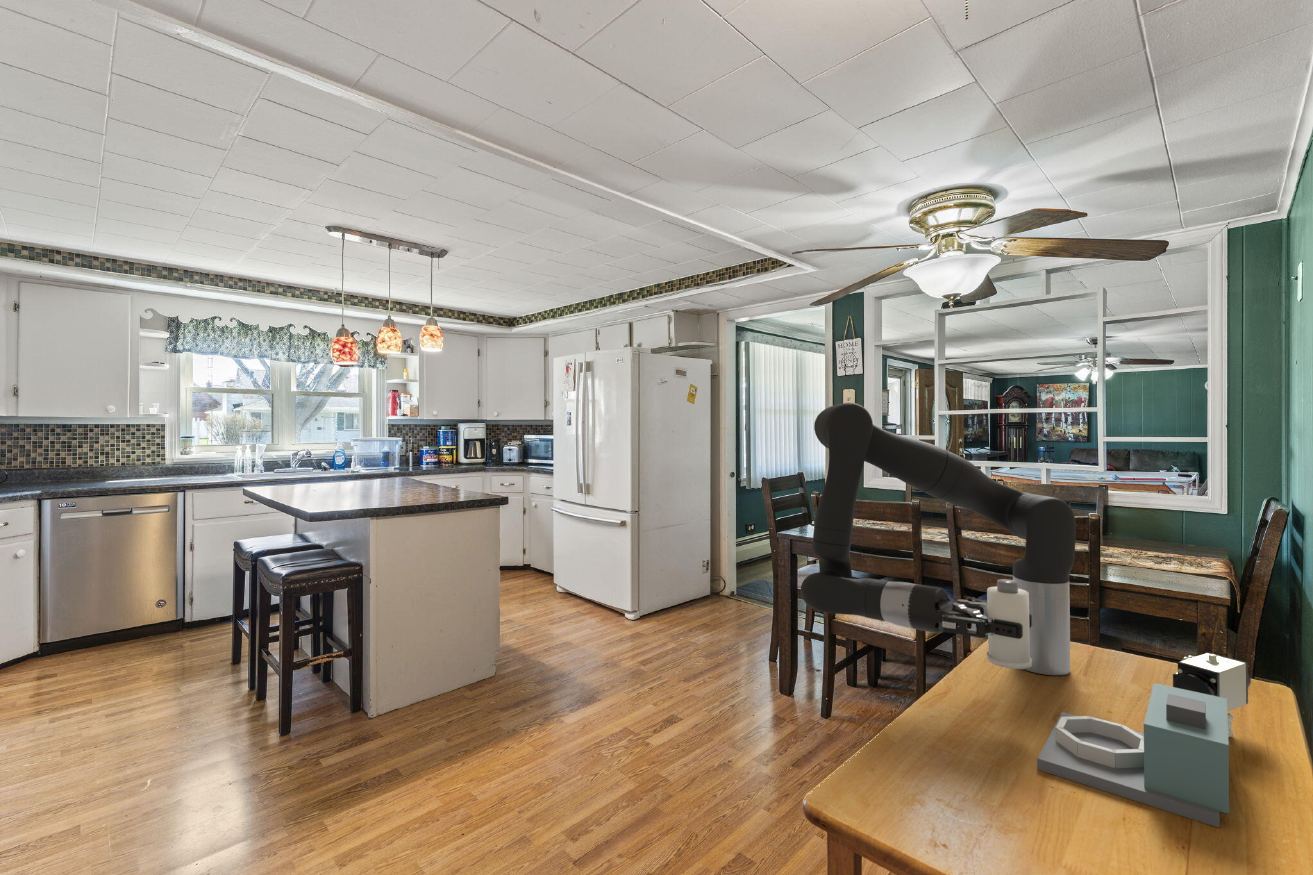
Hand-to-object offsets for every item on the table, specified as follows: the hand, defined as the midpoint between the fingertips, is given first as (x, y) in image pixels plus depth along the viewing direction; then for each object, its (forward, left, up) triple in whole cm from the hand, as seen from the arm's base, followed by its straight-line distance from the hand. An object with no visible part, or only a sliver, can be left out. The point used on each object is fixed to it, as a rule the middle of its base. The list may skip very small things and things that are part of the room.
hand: (1026, 625), depth 91 cm
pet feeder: (+2, +13, -16) cm, 21 cm away
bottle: (0, -2, -6) cm, 7 cm away
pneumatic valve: (-17, +20, -16) cm, 31 cm away
